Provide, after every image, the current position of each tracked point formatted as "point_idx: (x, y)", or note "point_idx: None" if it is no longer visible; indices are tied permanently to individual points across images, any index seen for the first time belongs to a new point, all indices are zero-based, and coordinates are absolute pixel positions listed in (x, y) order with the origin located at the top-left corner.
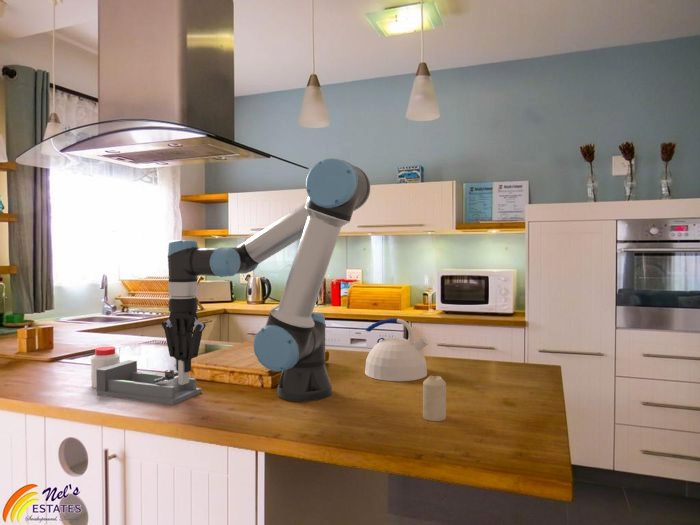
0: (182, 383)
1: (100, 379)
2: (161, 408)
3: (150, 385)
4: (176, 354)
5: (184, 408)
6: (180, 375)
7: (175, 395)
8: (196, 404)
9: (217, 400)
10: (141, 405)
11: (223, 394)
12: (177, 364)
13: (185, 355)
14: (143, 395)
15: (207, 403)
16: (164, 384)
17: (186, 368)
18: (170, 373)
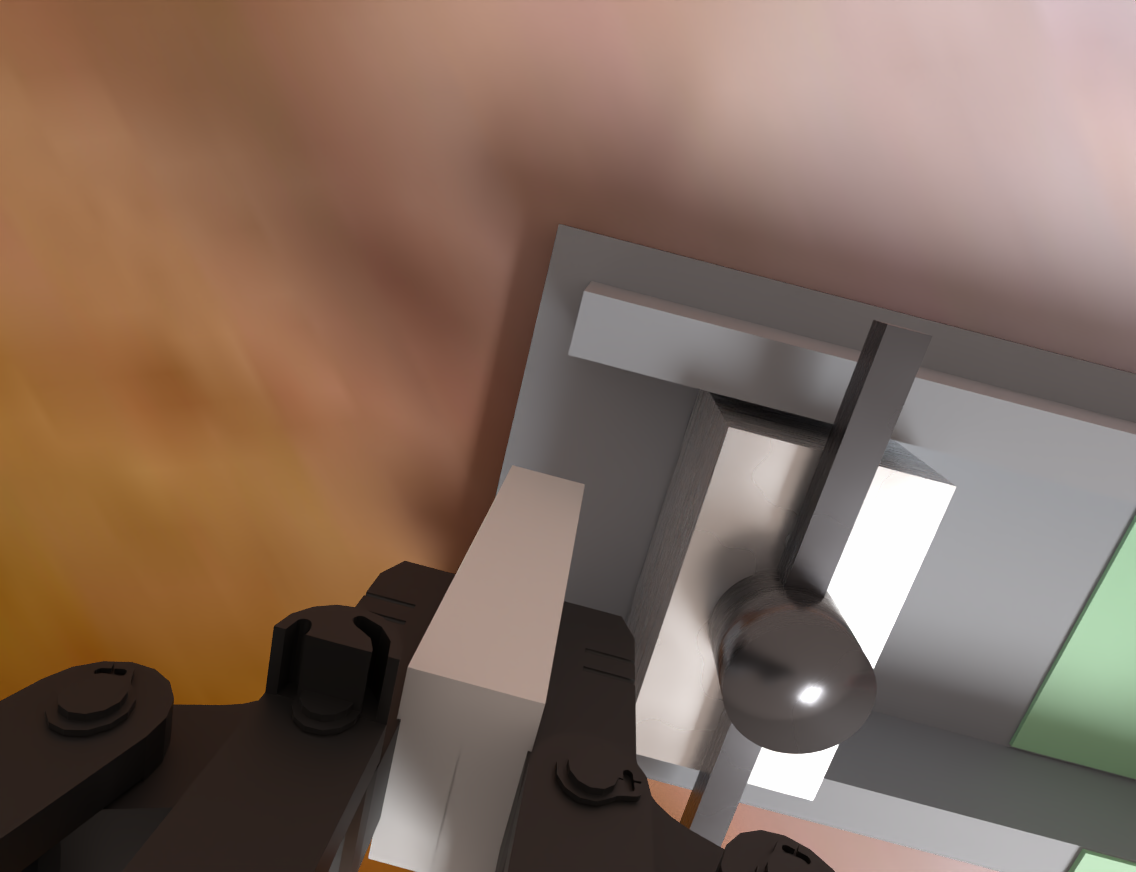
0: (513, 471)
1: None
2: (639, 91)
3: (965, 390)
4: (595, 866)
5: (384, 126)
6: (531, 527)
7: (615, 417)
8: (328, 279)
9: (191, 427)
10: (924, 174)
11: (233, 607)
12: (603, 692)
13: (254, 772)
14: (1004, 382)
15: (236, 323)
16: (759, 422)
17: (398, 597)
18: (748, 621)
